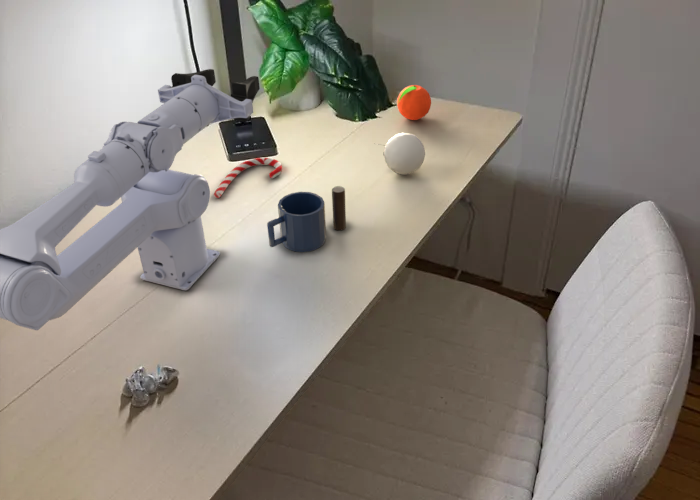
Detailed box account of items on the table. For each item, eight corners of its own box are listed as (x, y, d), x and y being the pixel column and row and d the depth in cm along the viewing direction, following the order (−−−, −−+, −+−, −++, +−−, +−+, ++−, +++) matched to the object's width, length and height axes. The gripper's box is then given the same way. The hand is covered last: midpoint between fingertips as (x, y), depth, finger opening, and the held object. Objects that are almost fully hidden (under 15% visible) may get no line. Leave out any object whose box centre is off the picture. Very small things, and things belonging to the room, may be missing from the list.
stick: (343, 231, 107) (342, 193, 103) (331, 229, 107) (329, 191, 103) (347, 224, 108) (346, 187, 104) (336, 222, 109) (334, 184, 105)
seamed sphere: (433, 171, 122) (435, 134, 117) (405, 186, 118) (406, 148, 113) (392, 153, 128) (393, 117, 123) (364, 167, 123) (364, 130, 119)
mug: (308, 221, 109) (306, 186, 105) (334, 240, 105) (333, 204, 101) (258, 243, 104) (254, 208, 101) (283, 264, 100) (280, 228, 96)
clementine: (409, 130, 135) (410, 96, 131) (385, 119, 140) (386, 86, 135) (437, 118, 139) (439, 85, 135) (413, 108, 144) (414, 76, 140)
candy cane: (200, 187, 116) (255, 152, 126) (201, 194, 117) (256, 158, 127) (235, 199, 113) (289, 162, 123) (236, 206, 113) (289, 168, 123)
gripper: (225, 97, 88) (274, 59, 97) (133, 81, 92) (189, 47, 102) (232, 146, 92) (278, 105, 102) (144, 128, 97) (197, 90, 106)
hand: (234, 79), depth 102 cm, fingers open, 7 cm apart
